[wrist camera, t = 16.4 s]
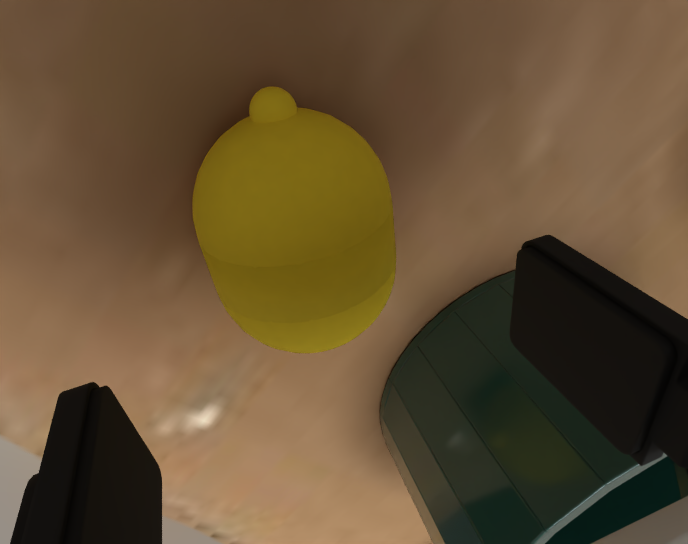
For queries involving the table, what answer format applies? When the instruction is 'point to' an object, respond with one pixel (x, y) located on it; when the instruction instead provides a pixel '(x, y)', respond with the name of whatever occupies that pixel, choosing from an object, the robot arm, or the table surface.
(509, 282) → the pot
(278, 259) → the lemon
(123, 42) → the table surface
